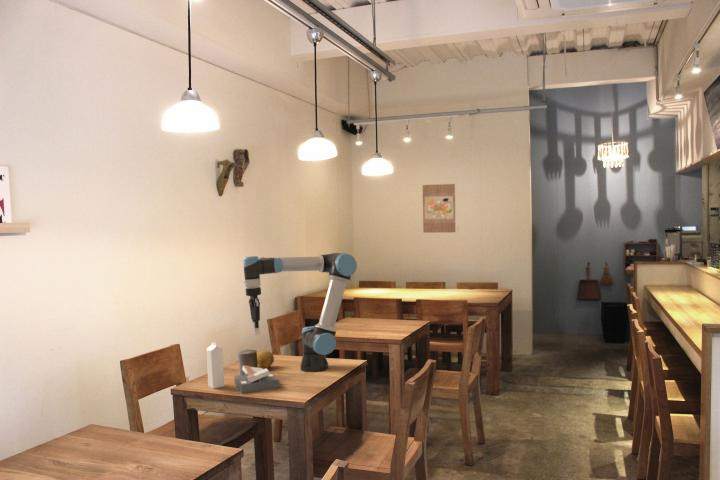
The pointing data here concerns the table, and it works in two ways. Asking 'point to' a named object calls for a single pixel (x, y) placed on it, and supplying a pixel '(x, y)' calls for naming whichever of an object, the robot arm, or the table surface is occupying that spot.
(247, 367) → the rocker
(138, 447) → the table surface
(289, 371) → the table surface
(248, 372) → the rocker
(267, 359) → the potato
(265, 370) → the white flat box
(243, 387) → the grey tray
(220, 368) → the milk
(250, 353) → the pillar candle
